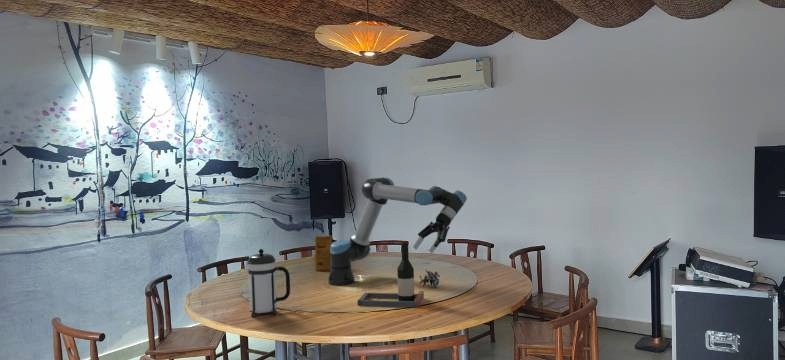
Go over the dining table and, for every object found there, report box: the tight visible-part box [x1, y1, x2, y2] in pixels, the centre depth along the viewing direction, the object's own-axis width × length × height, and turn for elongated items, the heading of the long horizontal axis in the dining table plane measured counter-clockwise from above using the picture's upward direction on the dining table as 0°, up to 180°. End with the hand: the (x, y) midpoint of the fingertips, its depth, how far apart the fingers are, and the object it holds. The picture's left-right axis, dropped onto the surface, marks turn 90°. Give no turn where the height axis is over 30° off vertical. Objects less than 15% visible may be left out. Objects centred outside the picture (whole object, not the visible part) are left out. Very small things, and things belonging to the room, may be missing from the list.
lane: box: [357, 290, 425, 308], centre depth 259 cm, size 30×15×4 cm, turn 79°
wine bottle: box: [397, 240, 415, 301], centre depth 257 cm, size 8×8×30 cm
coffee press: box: [243, 248, 291, 318], centre depth 247 cm, size 17×16×30 cm
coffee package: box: [313, 235, 333, 272], centre depth 342 cm, size 10×12×22 cm
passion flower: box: [419, 269, 441, 289], centre depth 287 cm, size 11×11×12 cm
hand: (422, 249), depth 262 cm, fingers open, 13 cm apart
